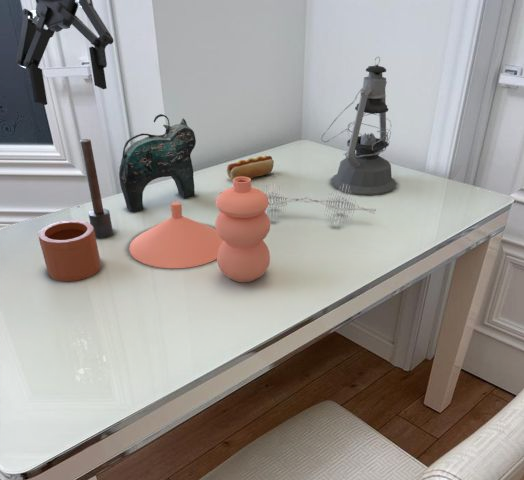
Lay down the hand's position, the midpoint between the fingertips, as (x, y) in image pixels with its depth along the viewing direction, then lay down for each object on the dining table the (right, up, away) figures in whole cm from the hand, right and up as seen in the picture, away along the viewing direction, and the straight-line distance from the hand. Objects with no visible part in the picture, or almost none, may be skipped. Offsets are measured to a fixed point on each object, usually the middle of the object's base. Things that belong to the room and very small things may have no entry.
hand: (70, 95), depth 103 cm
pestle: (+1, -22, +17) cm, 28 cm away
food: (+33, -1, +46) cm, 57 cm away
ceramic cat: (+12, -12, +32) cm, 36 cm away
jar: (-1, -32, +5) cm, 32 cm away
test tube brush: (+46, -18, +24) cm, 55 cm away
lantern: (+62, -4, +43) cm, 75 cm away
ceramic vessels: (+24, -29, +9) cm, 38 cm away
